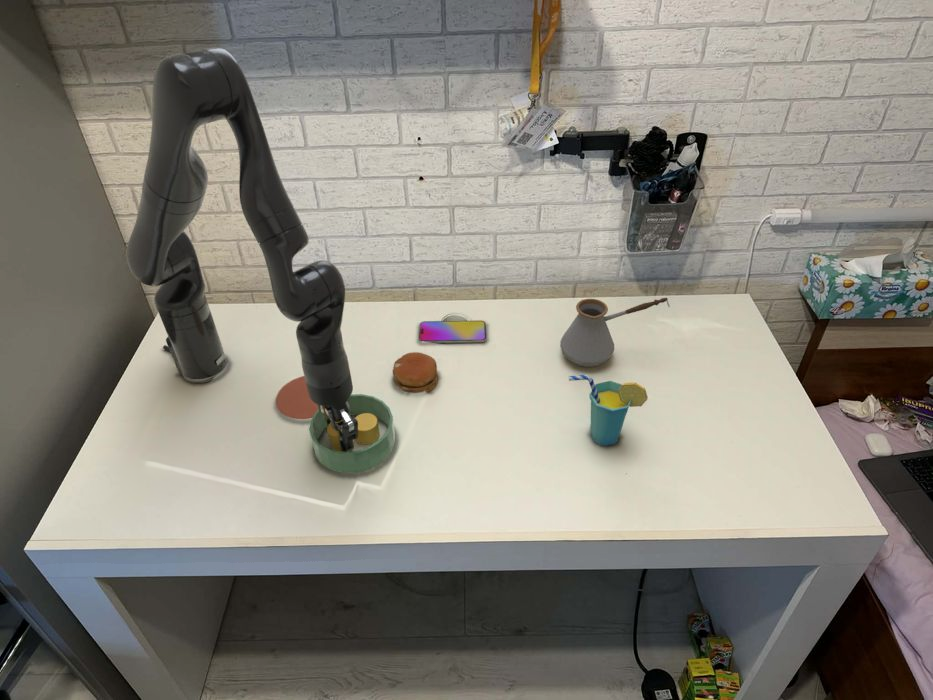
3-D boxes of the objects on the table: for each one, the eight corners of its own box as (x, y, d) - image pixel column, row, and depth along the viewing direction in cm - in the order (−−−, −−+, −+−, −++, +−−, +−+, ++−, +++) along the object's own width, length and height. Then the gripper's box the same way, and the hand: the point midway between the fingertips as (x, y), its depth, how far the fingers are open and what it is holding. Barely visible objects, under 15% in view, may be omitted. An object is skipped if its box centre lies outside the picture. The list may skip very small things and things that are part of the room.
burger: (444, 389, 135) (443, 372, 132) (400, 400, 132) (398, 383, 129) (430, 360, 142) (429, 343, 139) (388, 370, 140) (386, 353, 137)
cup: (562, 448, 122) (569, 389, 112) (562, 418, 127) (568, 359, 118) (639, 453, 120) (652, 394, 111) (635, 422, 126) (647, 364, 117)
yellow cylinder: (327, 449, 120) (323, 433, 117) (336, 433, 123) (333, 417, 120) (348, 454, 119) (344, 437, 116) (357, 437, 122) (354, 421, 119)
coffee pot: (562, 373, 138) (567, 316, 128) (556, 339, 146) (561, 283, 137) (664, 372, 137) (677, 315, 128) (652, 338, 146) (664, 282, 136)
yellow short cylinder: (351, 442, 123) (348, 428, 120) (361, 425, 126) (358, 411, 124) (374, 447, 122) (371, 432, 119) (383, 430, 125) (381, 415, 123)
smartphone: (486, 340, 145) (418, 341, 145) (486, 342, 146) (418, 343, 146) (485, 320, 151) (420, 321, 151) (485, 322, 152) (420, 323, 152)
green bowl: (301, 466, 119) (294, 444, 116) (335, 410, 130) (331, 388, 127) (377, 483, 116) (374, 461, 112) (406, 424, 127) (404, 401, 123)
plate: (264, 415, 130) (263, 412, 129) (295, 373, 139) (294, 370, 139) (324, 428, 127) (323, 424, 126) (351, 383, 136) (351, 380, 136)
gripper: (288, 358, 113) (306, 427, 123) (325, 405, 103) (341, 475, 114) (328, 342, 116) (342, 411, 127) (367, 386, 107) (378, 456, 118)
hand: (341, 441), depth 120 cm, fingers closed on yellow cylinder, 4 cm apart
